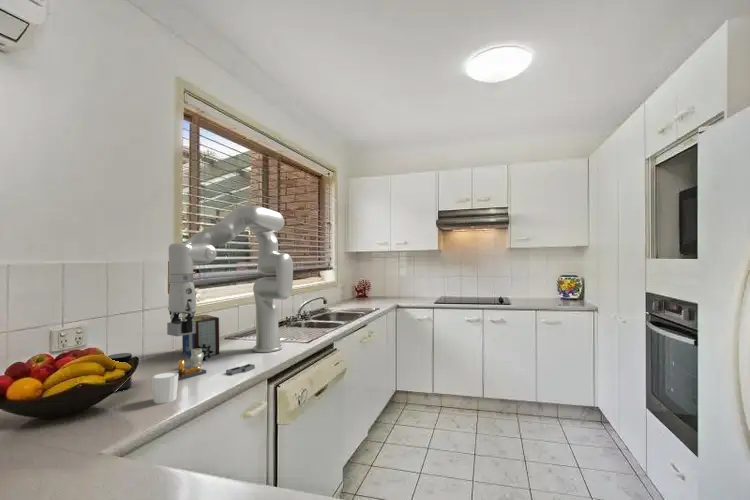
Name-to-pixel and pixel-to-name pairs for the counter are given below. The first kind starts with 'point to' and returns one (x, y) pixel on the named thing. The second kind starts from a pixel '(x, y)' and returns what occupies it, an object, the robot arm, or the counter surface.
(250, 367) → the chain tail
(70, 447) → the counter surface
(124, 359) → the supplement container
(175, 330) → the end link
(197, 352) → the valve
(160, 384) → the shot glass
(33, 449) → the counter surface
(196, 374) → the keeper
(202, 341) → the protein box
